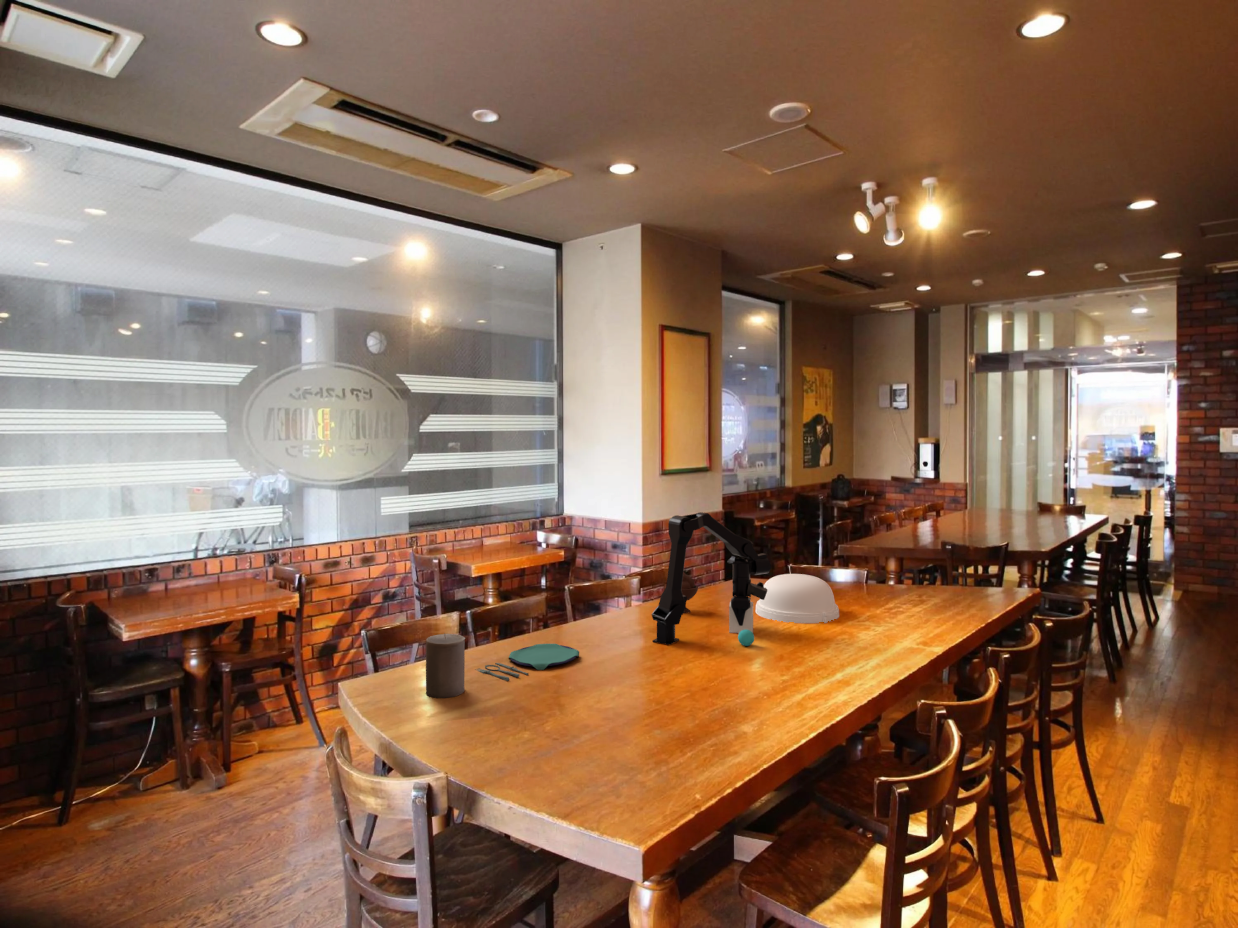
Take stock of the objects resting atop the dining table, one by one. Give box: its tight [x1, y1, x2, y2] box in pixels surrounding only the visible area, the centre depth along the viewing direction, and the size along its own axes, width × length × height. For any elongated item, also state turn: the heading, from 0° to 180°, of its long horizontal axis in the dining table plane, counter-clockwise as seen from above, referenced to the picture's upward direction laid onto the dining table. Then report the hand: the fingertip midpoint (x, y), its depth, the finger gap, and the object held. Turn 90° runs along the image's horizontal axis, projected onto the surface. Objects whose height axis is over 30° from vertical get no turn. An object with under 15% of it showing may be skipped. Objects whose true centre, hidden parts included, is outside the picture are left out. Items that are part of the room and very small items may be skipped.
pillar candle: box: [425, 633, 466, 699], centre depth 186 cm, size 10×10×15 cm
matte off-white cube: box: [728, 600, 754, 634], centre depth 245 cm, size 8×8×9 cm
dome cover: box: [755, 573, 840, 624], centre depth 269 cm, size 32×30×14 cm
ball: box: [737, 629, 755, 647], centre depth 227 cm, size 5×5×5 cm
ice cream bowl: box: [681, 571, 699, 614], centre depth 271 cm, size 11×11×15 cm
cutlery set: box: [474, 643, 580, 682], centre depth 210 cm, size 20×30×2 cm, turn 136°
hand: (741, 622), depth 245 cm, fingers closed on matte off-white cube, 8 cm apart
